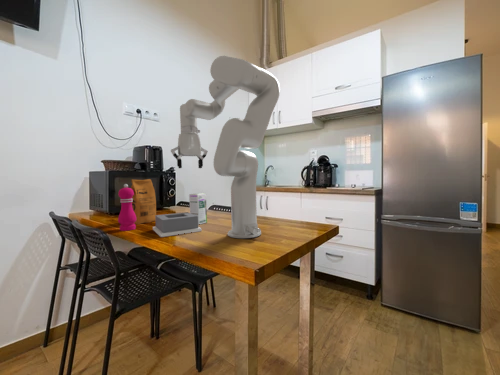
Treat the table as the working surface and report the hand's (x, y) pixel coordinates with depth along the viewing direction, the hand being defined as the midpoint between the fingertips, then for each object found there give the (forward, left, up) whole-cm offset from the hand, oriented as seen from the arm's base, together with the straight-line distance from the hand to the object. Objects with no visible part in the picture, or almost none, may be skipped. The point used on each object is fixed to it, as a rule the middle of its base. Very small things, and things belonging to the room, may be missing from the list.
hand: (190, 168), depth 111 cm
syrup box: (0, -3, -27) cm, 27 cm away
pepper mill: (+7, +27, -27) cm, 39 cm away
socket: (-9, +10, -27) cm, 30 cm away
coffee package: (+22, +19, -27) cm, 39 cm away
